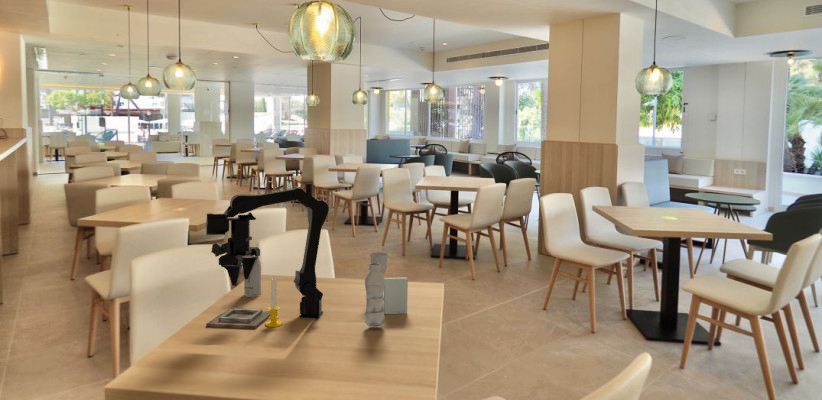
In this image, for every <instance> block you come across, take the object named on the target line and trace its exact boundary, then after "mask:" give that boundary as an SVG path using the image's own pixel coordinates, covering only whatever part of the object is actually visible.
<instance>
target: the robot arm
mask: <svg viewBox="0 0 822 400" xmlns="http://www.w3.org/2000/svg"><path fill="white" fill-rule="evenodd" d="M293 201H297V202H298V203H300V204H301V205H302V206H304V207H305V208H306V209H307V213H306V214H307V223H308V229H307V235H306V239H305V241H306V242H305V247H304V254H303V259H302V264H301V268H300V269H299V270H295V272H294V273H295V278H294V280H293V283H294V285H295V288H296V289H297V290H298V292H299V293H300V294H301V295H302V297H301V301H299V314H300V315H299V317H300V318H307V319H308V318H309V319H319V318H320V317H321V316H322V315H323V313H324V311H323V309H322V306H323V305H322V300H323V296H324V294H323V292H321V290H319V289H318V288H317V275H316V273H317V272H316V264H317V258H318V252H319V245H320V240H321V233H322V228H323V226H324V225H325V222H326V220H327V217H328V214H329V209H330V207H329V204H328V203H327V202H326V201H324V200H321V199H319V198H317V199H316V198H315V197H313V196H312V195H310V194H309V193H307V192H306V191H305V190H304V189H302V188H300V187H293V188H290V189H284V190H278V191H273V192H268V193H260V194H250V193H249V194H248V193H247V194H246V193H244V194H241V193H239V194H235V195H233V196H232V197H231V199H230V201H229V205H228V207H227V209H226V210H225V211H224V212H223V213H210V212H209V213H206V220H205V221H206V222H205V234H206V236H221V235H222V236H225V235H226V233H228V232H229V231H230V237H228V238H227V242H225V243H222V244H221V243H220V242H216V243H213V244H212V246H211V252H210V253H212V254H214V256H215V258H216V257H217V258H218V257H219V256H220V257H219V258H218V266H220V267H221V268H224V269H225V270H226V271H227V274H228V276H229V280H230V283H231V285H232V286H233V287H235V286H237V284H238V282H239V278H240V275H241V271H242V272H243V273H242V274H243V278H244V279H248V278H249V276H250V274H251V271H252V269H253V267H254V265H255V263H256V261H257V259H258V258H259V257H260V256H261V249H260V248H259V247H257V246H250V244H251V243H250V241H251V240H253V236H250V235H251V233H250V230H251V229H250V225H251V223H250V221H256V220H257V218H256V217H255V216H254V215H253V213H252V212H251V211H254V210H257V209H259V208H261V207H265V206H270V205H276V204H281V203H287V202H293ZM246 213H247V214H246ZM236 216H237V217H236ZM244 279H243V280H244Z"/></svg>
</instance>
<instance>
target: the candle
mask: <svg viewBox="0 0 822 400" xmlns="http://www.w3.org/2000/svg"><path fill="white" fill-rule="evenodd" d="M277 284H278V283H277V278H276V277H271V288H270V289H271V292H270V296H271V297H270V298H271V299H270V300H271V301H270V306H269V307H267V311H270V315H271V316H270V317H269V318H268V320H270V321H265V322H264V323H265V327H267V328H268V327H269V328H278V327H281V326H283V322H282V321H281V320H279V319H280V316H279V315H278V310H280V309H281V307H280V306H277V305H278V303H277V300H278V298H277V297H278V296H277V295H278V293H277V291H278V290H277V286H278V285H277Z"/></svg>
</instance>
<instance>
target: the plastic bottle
mask: <svg viewBox="0 0 822 400" xmlns="http://www.w3.org/2000/svg"><path fill="white" fill-rule="evenodd" d="M368 267H369V268H368V270H369V272H368V274H367V275H366V277H364V278H365V279H364V286H365V297H366V300H365V301H366V303H365V304H366V305H365V311H364V322H365V323H364V324H366V326H368V327H371V328H373V327H380V326H383V324H384V323H385V319H386V318H385V317H386V316H385V314H384V311H383V310H384V300H383V298H384V284H385V280H384V278H385V276H383V275H382V274H381V272H380V270H381V264H379V263H371V262H370V263H369V265H368Z"/></svg>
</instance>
